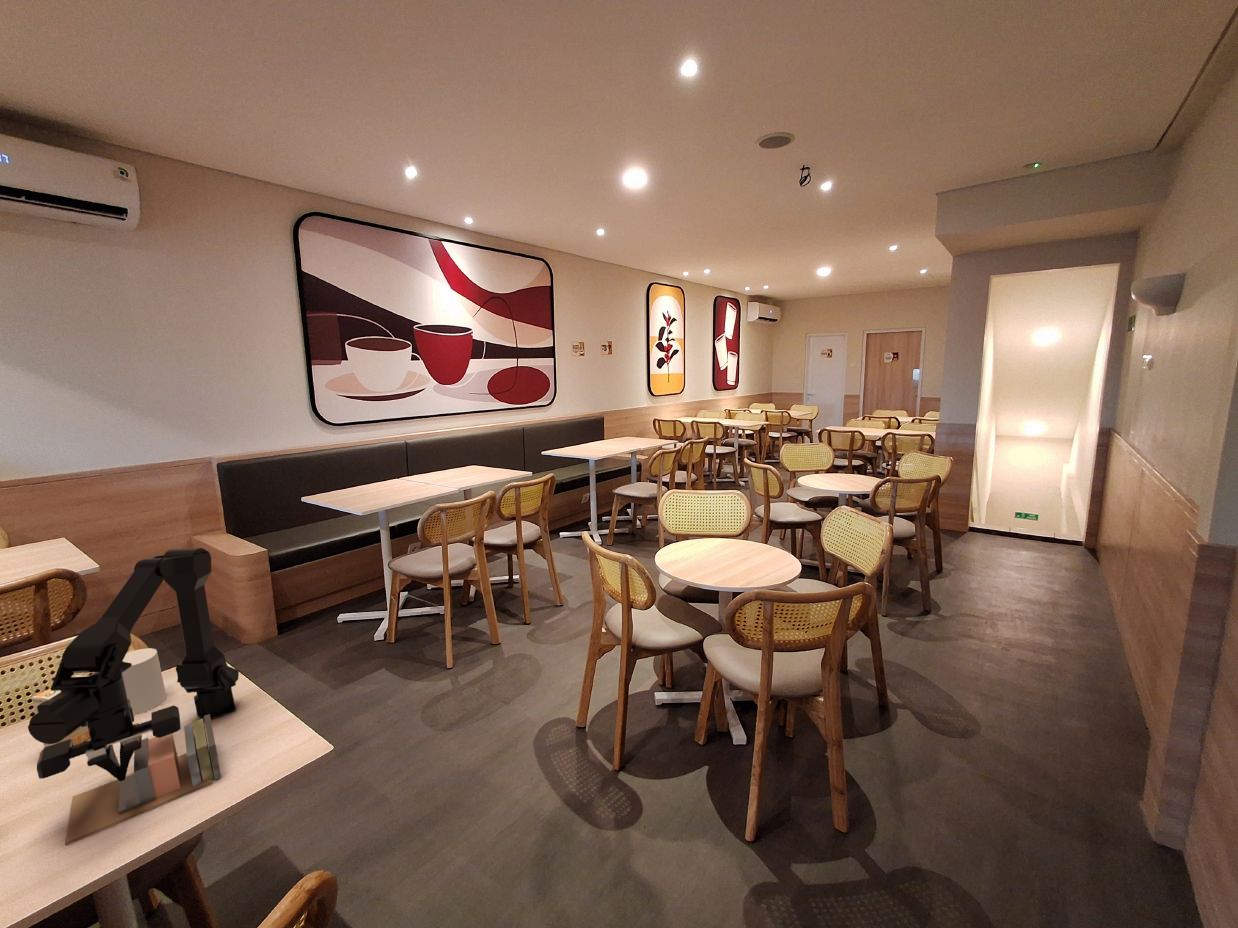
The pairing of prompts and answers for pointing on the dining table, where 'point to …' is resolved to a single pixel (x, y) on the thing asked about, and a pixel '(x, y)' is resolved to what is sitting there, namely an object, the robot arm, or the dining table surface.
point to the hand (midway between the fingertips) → (122, 779)
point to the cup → (144, 680)
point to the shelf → (195, 773)
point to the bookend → (137, 782)
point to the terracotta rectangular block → (163, 765)
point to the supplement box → (76, 736)
